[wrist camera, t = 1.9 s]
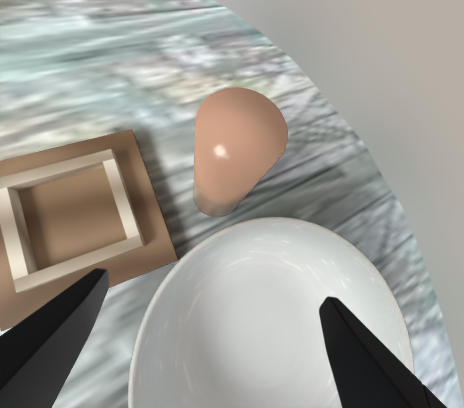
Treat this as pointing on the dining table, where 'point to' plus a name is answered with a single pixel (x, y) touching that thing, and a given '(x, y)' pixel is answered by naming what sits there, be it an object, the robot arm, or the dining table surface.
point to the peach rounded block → (234, 147)
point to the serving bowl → (257, 319)
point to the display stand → (76, 221)
